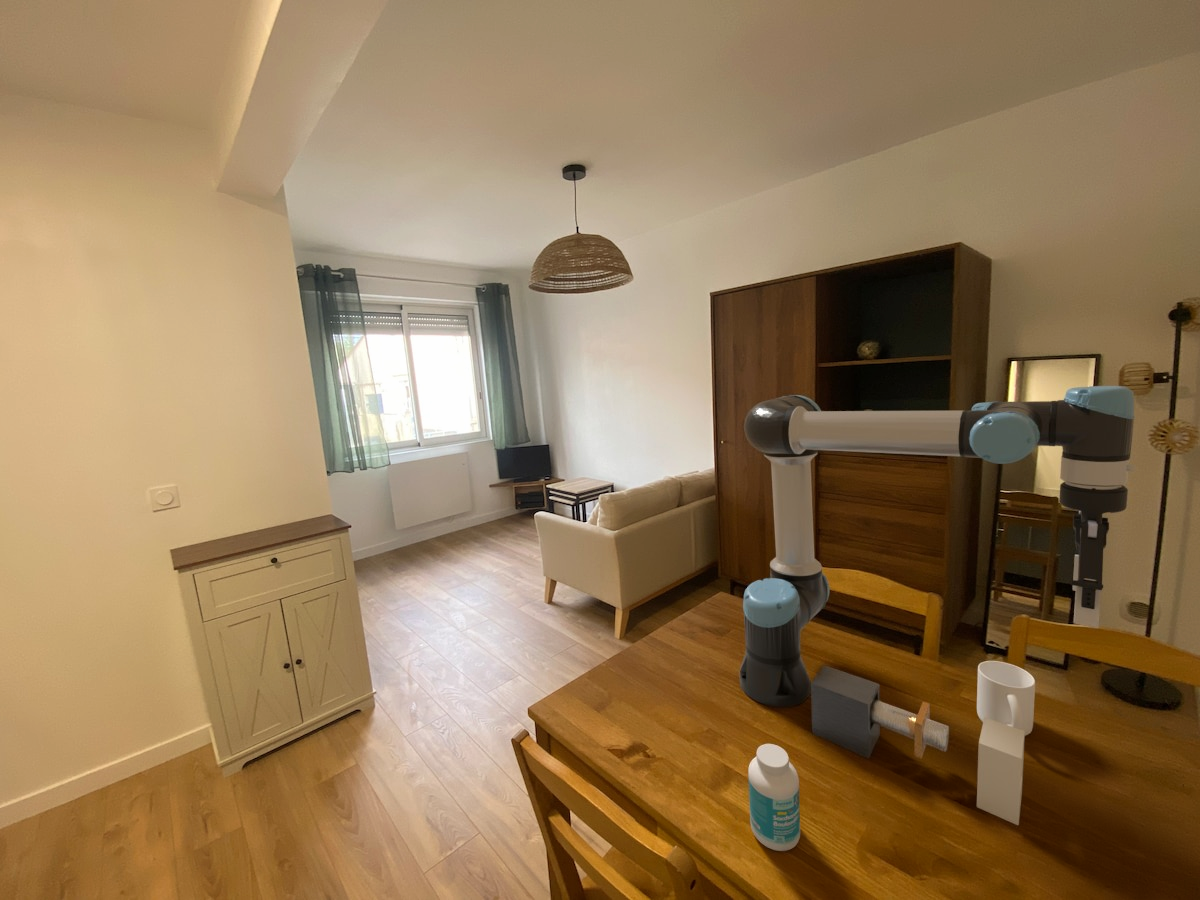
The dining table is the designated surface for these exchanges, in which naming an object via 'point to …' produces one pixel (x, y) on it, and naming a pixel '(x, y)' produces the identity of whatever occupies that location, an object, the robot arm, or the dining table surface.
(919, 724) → the tube
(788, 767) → the pill bottle
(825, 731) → the sleeve
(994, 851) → the dining table surface
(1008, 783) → the socket block
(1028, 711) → the mug
